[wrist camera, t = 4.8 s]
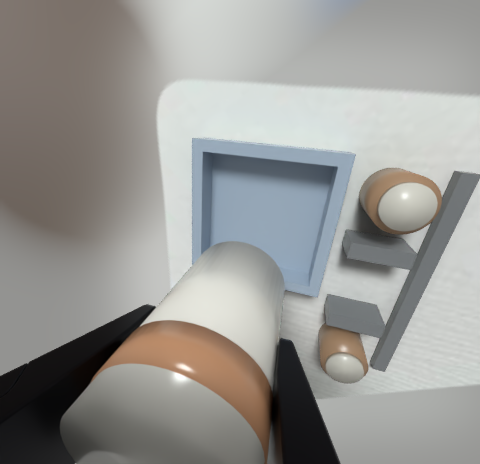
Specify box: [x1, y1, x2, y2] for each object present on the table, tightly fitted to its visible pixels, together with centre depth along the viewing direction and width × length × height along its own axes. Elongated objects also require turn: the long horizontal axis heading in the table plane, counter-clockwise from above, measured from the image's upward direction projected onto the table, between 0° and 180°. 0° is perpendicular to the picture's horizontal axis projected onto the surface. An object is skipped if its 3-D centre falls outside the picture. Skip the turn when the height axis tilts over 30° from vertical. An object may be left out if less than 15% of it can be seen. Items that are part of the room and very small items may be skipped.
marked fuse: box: [60, 241, 285, 464], centre depth 8 cm, size 4×4×7 cm
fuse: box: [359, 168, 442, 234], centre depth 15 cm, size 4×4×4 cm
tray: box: [192, 138, 356, 297], centre depth 18 cm, size 11×11×2 cm
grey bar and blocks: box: [325, 171, 480, 372], centre depth 18 cm, size 6×18×2 cm, turn 176°
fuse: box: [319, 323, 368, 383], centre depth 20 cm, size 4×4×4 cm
